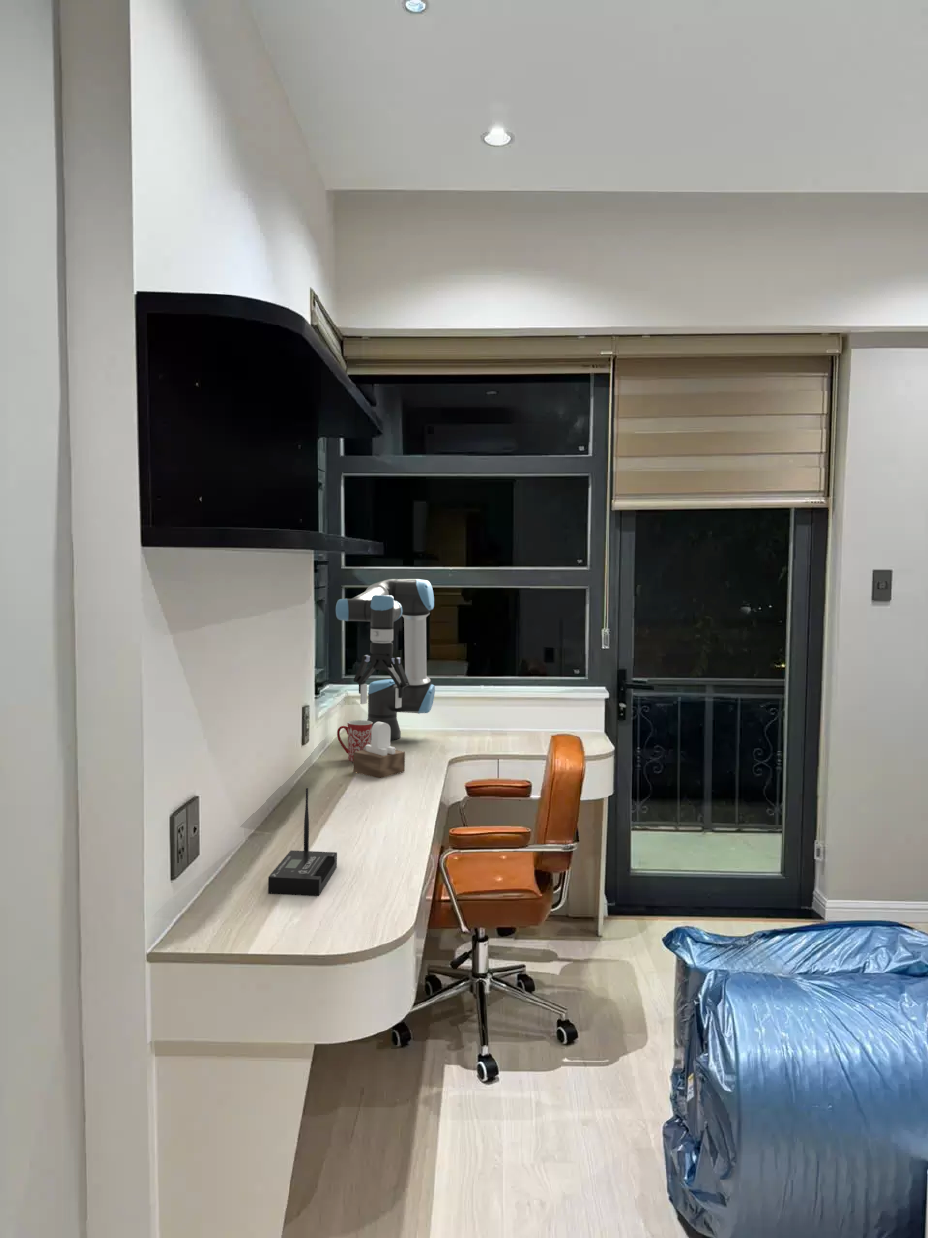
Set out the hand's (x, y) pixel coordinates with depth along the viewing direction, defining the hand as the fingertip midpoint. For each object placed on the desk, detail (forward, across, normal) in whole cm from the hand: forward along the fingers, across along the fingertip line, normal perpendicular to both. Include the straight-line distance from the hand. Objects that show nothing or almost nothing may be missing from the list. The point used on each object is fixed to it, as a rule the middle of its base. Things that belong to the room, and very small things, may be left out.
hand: (380, 705), depth 262 cm
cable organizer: (+16, 0, -1) cm, 16 cm away
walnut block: (+22, 0, -1) cm, 22 cm away
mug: (+22, -17, +10) cm, 29 cm away
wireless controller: (+22, +37, -87) cm, 97 cm away
